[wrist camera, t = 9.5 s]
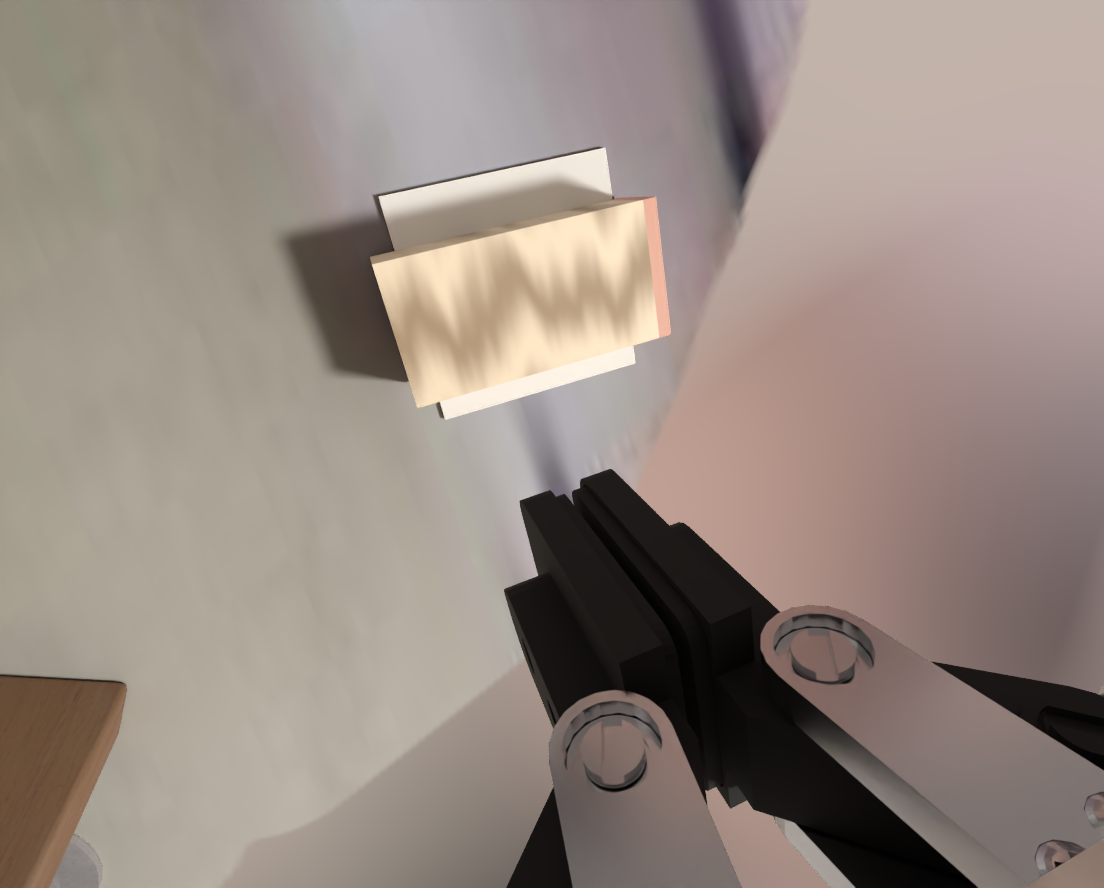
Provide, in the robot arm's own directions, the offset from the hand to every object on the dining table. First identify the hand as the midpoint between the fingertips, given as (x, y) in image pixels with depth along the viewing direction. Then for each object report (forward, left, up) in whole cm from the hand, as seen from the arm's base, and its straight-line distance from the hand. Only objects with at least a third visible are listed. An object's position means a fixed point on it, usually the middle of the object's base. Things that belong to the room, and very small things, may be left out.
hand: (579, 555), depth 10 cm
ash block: (+1, -2, -27) cm, 27 cm away
